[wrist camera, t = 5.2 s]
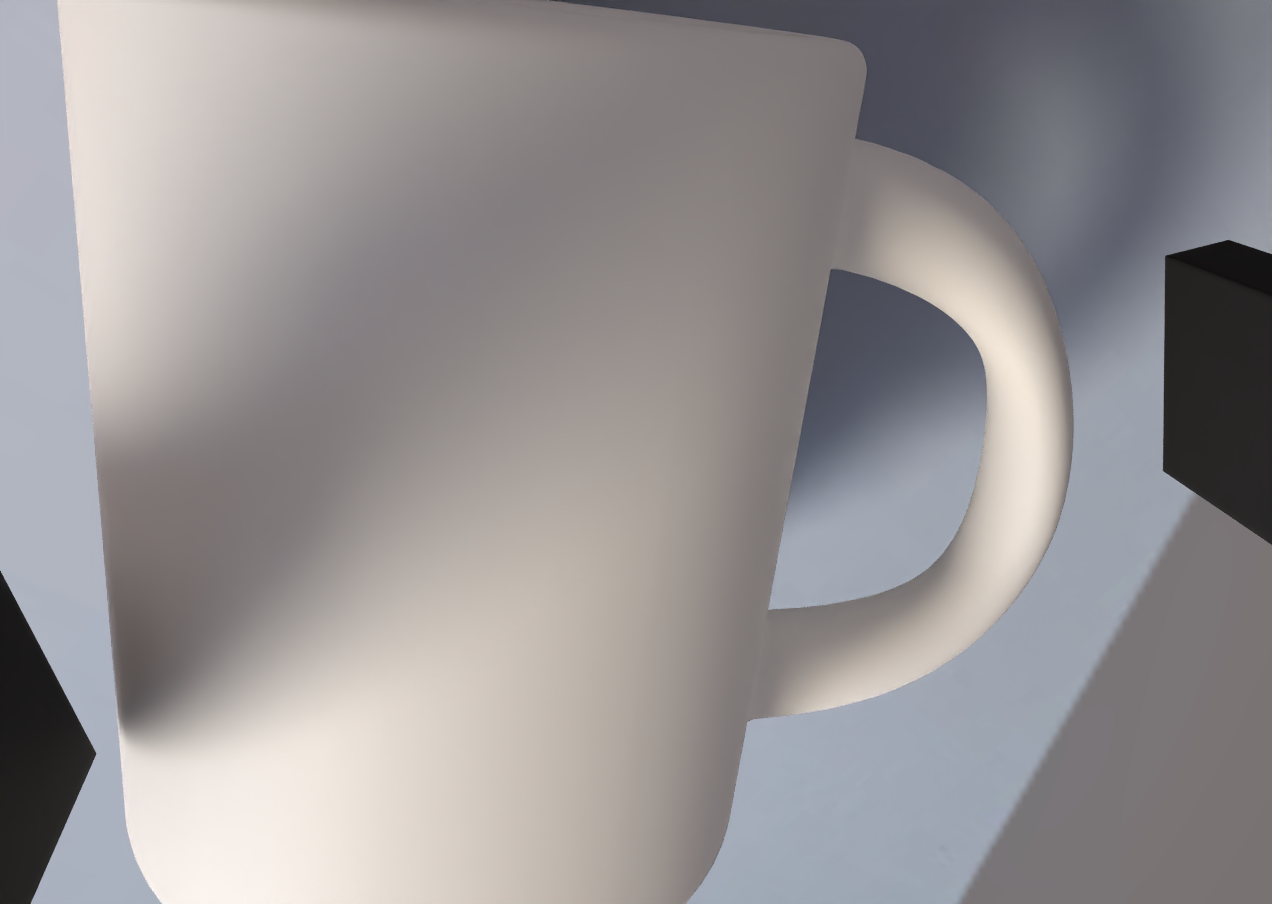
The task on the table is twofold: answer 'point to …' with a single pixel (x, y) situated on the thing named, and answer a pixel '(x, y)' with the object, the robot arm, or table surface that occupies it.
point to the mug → (495, 430)
